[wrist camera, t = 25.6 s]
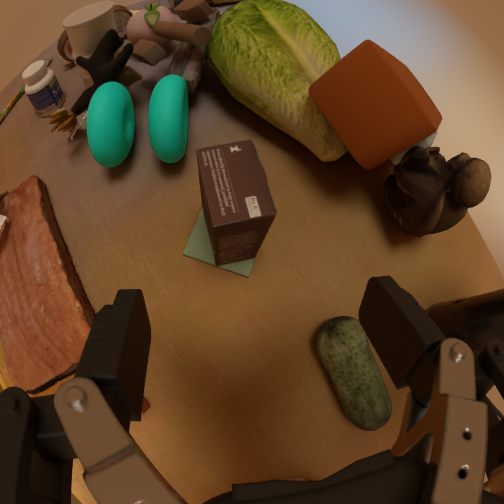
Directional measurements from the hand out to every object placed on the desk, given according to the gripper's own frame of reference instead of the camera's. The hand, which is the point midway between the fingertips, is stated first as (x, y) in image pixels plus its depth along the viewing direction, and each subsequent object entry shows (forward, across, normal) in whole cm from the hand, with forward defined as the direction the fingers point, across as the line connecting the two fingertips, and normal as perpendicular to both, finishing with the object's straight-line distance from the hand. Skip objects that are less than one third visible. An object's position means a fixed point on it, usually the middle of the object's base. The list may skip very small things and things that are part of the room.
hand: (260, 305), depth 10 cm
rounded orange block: (+25, -17, -13) cm, 33 cm away
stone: (+39, +7, -13) cm, 42 cm away
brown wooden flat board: (+14, +22, +12) cm, 29 cm away
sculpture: (+21, -22, +6) cm, 31 cm away
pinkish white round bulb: (+44, +12, -17) cm, 49 cm away
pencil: (+48, +35, -22) cm, 63 cm away
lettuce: (+33, -8, -6) cm, 34 cm away
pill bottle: (+36, +28, -10) cm, 47 cm away
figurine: (+25, +11, -16) cm, 32 cm away
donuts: (+28, +9, -1) cm, 30 cm away
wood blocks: (+32, +14, -13) cm, 37 cm away
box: (+19, 0, +7) cm, 20 cm away
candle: (+37, +17, -10) cm, 42 cm away
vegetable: (+8, -12, +19) cm, 24 cm away
